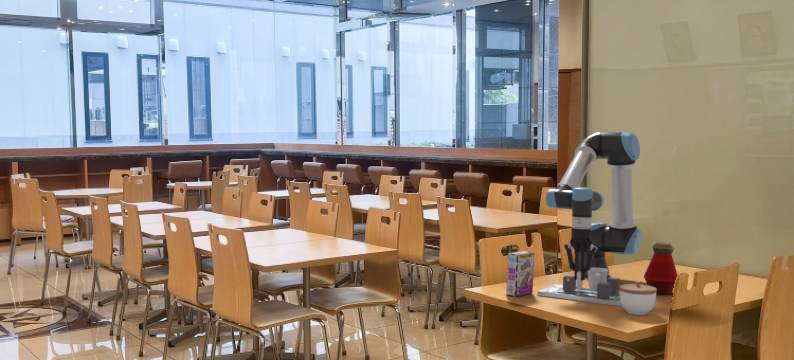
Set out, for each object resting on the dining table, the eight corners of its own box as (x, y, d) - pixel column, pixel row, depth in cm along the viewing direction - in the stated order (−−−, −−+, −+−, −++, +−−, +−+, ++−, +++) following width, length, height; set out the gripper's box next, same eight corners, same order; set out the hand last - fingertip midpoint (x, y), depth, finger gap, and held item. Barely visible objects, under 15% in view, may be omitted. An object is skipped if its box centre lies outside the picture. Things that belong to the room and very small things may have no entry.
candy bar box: (516, 297, 298) (517, 254, 297) (505, 295, 301) (507, 253, 300) (533, 293, 305) (535, 252, 305) (523, 291, 309) (524, 250, 308)
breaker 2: (599, 295, 295) (600, 281, 294) (610, 296, 292) (611, 282, 292) (596, 297, 292) (597, 282, 291) (607, 298, 289) (608, 284, 289)
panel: (553, 288, 318) (554, 283, 318) (638, 298, 300) (638, 294, 300) (537, 295, 303) (537, 290, 303) (625, 306, 285) (625, 302, 285)
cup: (608, 292, 312) (608, 272, 311) (587, 291, 313) (588, 271, 313) (606, 287, 322) (607, 268, 322) (586, 286, 324) (587, 267, 323)
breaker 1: (566, 288, 308) (566, 274, 307) (575, 289, 306) (576, 275, 305) (562, 289, 305) (563, 275, 304) (572, 290, 303) (573, 277, 302)
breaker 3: (609, 290, 305) (609, 276, 304) (619, 291, 303) (620, 278, 302) (606, 292, 302) (607, 278, 301) (616, 293, 300) (617, 279, 299)
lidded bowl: (634, 318, 267) (636, 286, 267) (610, 310, 279) (612, 279, 278) (663, 315, 272) (664, 284, 272) (638, 307, 284) (640, 277, 283)
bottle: (646, 287, 323) (648, 239, 322) (680, 291, 317) (682, 242, 316) (640, 294, 309) (641, 243, 308) (676, 297, 303) (678, 246, 302)
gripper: (561, 227, 302) (559, 287, 303) (595, 230, 295) (592, 291, 296) (568, 225, 308) (566, 284, 310) (601, 228, 301) (598, 288, 303)
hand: (579, 288), depth 303 cm, fingers closed
